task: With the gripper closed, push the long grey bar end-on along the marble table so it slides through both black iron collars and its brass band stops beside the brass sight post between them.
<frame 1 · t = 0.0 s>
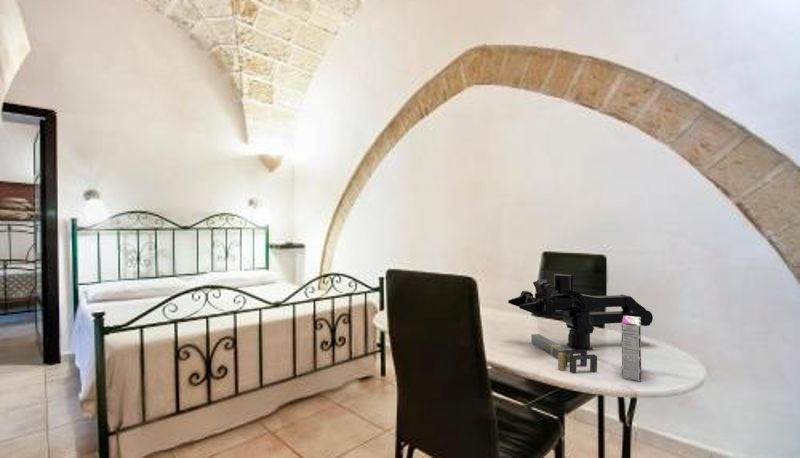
hand: (513, 304, 139), 17 cm above the table, tool horizontal, fingers open, 9 cm apart
long grey bar: (550, 351, 138), on the table
candy bar box: (631, 374, 117), on the table
sight post: (561, 369, 121), on the table
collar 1: (573, 365, 124), on the table
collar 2: (583, 371, 119), on the table
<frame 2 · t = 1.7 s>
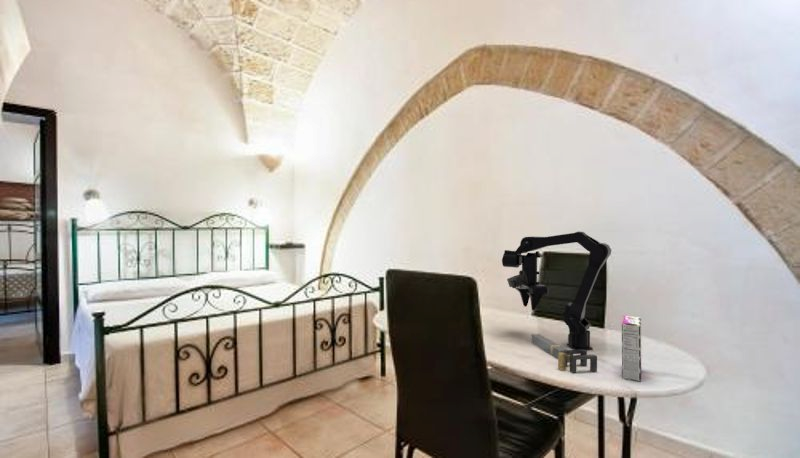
hand: (529, 308, 154), 12 cm above the table, tool pointing down, fingers open, 6 cm apart
nothing on the table moved.
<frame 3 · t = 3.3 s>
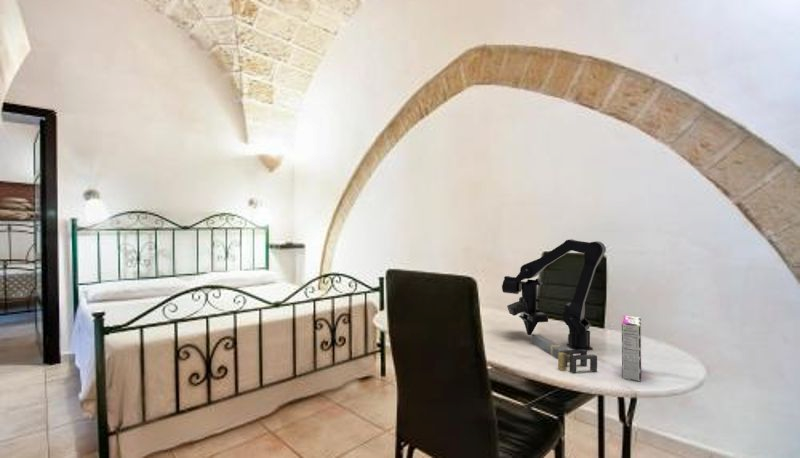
hand: (529, 335, 154), 1 cm above the table, tool pointing down, fingers closed
nothing on the table moved.
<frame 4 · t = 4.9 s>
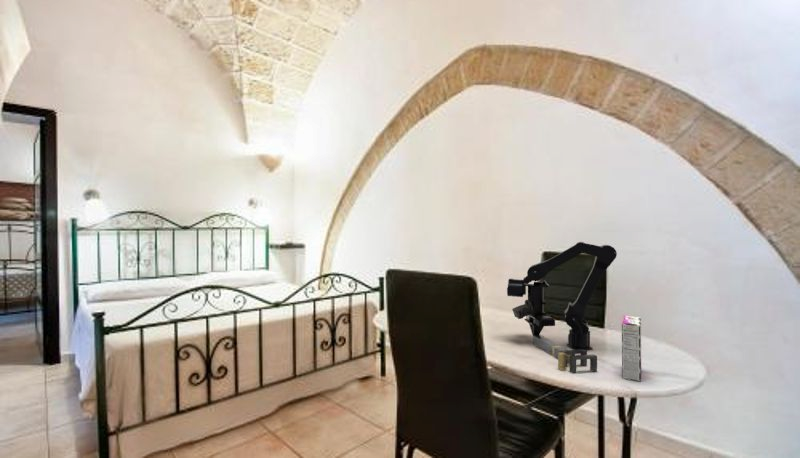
hand: (535, 338, 149), 1 cm above the table, tool pointing down, fingers closed
long grey bar: (552, 352, 137), on the table, touching gripper
everything else where it was.
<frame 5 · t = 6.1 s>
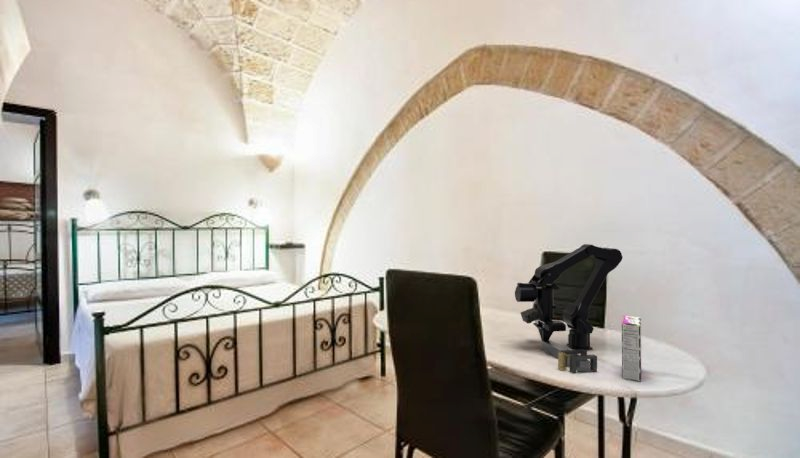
hand: (544, 344, 142), 1 cm above the table, tool pointing down, fingers closed
long grey bar: (564, 359, 130), on the table, touching gripper
everything else where it was.
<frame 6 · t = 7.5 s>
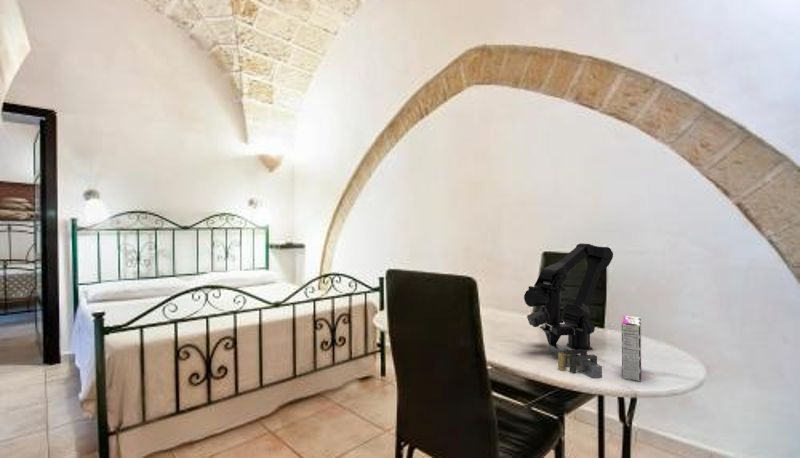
hand: (551, 348, 137), 1 cm above the table, tool pointing down, fingers closed
long grey bar: (573, 364, 125), on the table, touching gripper
everything else where it was.
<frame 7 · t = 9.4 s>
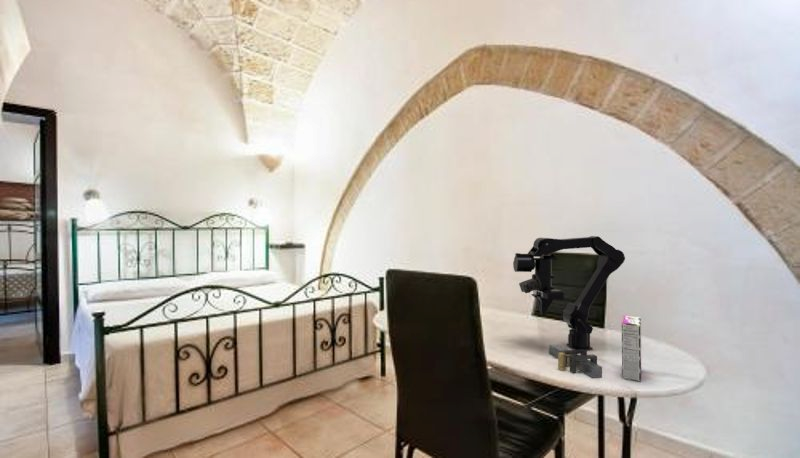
hand: (542, 314, 143), 12 cm above the table, tool pointing down, fingers closed
long grey bar: (573, 364, 125), on the table
everything else where it was.
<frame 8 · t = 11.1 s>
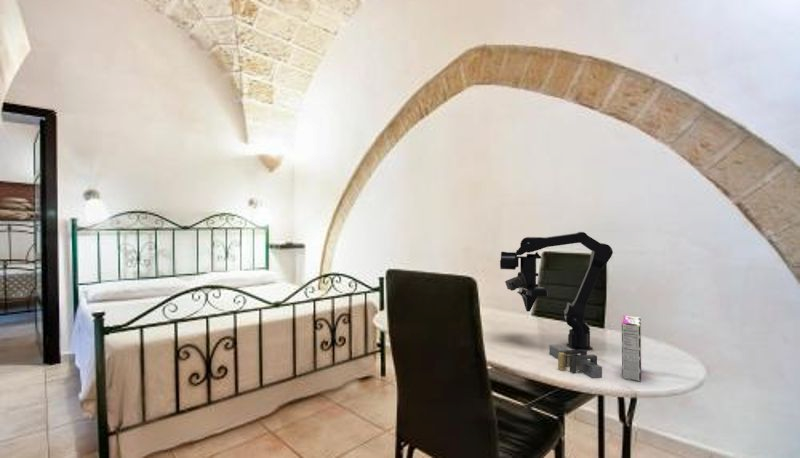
hand: (528, 311, 148), 12 cm above the table, tool pointing down, fingers closed
nothing on the table moved.
at the end: long grey bar 0.5 cm from the target spot, on the table; long grey bar moved 13.2 cm from its start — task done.
